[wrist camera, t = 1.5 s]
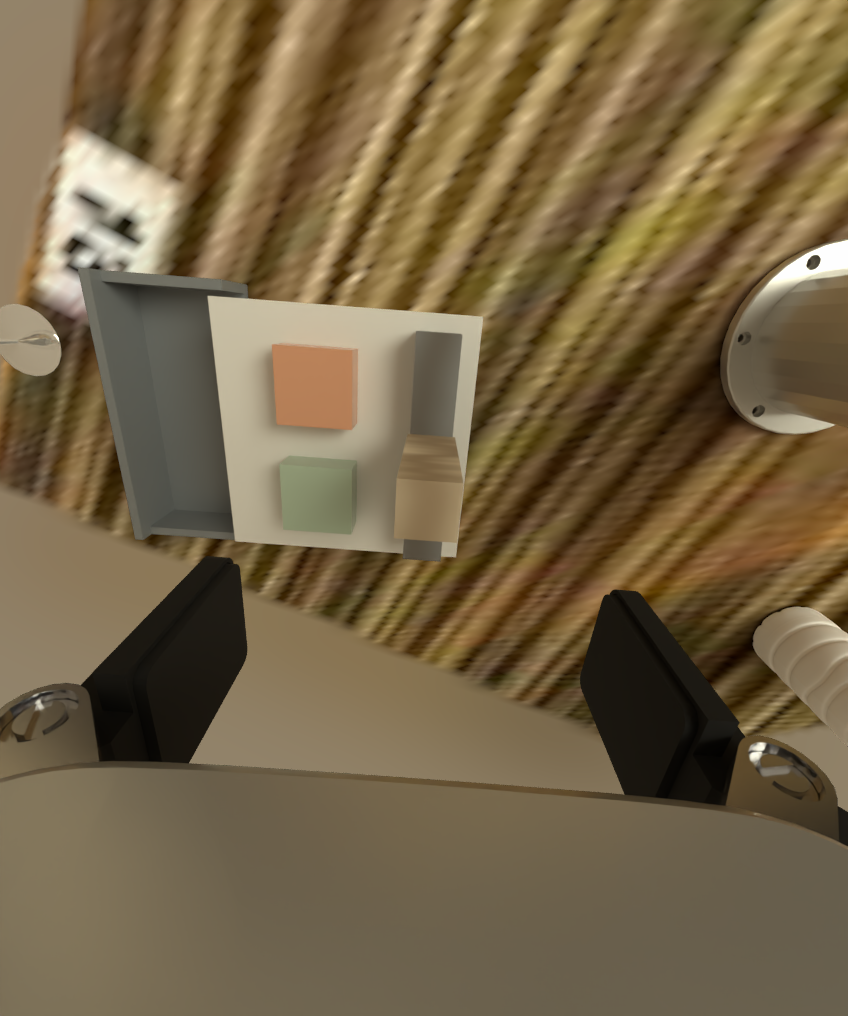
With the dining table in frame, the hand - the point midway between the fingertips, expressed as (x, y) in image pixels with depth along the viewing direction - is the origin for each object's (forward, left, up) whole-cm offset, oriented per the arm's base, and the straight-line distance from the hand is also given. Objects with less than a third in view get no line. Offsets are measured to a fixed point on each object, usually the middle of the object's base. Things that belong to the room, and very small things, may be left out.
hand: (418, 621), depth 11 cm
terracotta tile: (+7, -3, -19) cm, 20 cm away
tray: (+17, 0, -25) cm, 30 cm away
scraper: (0, 0, -19) cm, 19 cm away
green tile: (+7, +4, -19) cm, 20 cm away
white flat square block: (+5, 0, -25) cm, 25 cm away
